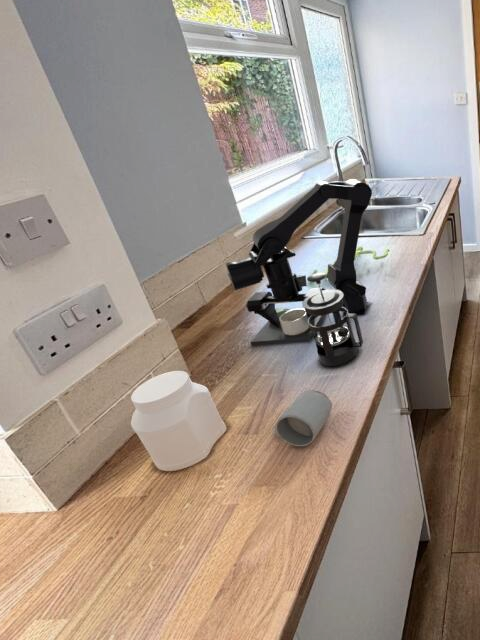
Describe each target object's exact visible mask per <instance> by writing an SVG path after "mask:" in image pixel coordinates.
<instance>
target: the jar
mask: <svg viewBox="0 0 480 640" xmlns="http://www.w3.org/2000/svg"><path fill="white" fill-rule="evenodd" d="M130 400H131V402H132V404H133V406H134V407H135V410H133V413H132V416H131V421H130V427H131V429H132V430H133V432H134V433H135V434H136V435H137V437H138V439H139V440H140V442H141V443H142V444H143V446H144V448H145V450H146V452H147V453H148V454H149V456H150V458H151V459H152V460H151V461H152V462H153V464H154V466H155V467H156V468H157V469H158V470H159V471H162V472H163V471H164V472H173V471H174V472H175V471H180V470H183V469H186V468H189V467H192V466H194V465H197V463H200V462H202V461H203V460H204V459H206V458H207V457H208V456H209V454H210V453H211V450H212V448H213V447H214V445H215V444H216V443H217V441H218V440H219V439H220V438H221V437H222V436H223V435H224V434H225V433H226V431H227V426H226V424H225V422H224V420H223V419H222V417H221V415H220V413H219V410H218V408H217V407H216V404H215V403H214V400H213V398H212V395H211V393H210V390H209V388H208V387H207V386H205V385H203V384H200V383H197V382H195V381H192V379H191V377H190V375H189V374H188V373H187V372H186V371H184V370H172V371H168V372H165V373H161V374H158V375H156V376H153V377H151V378H150V379H148V380H146V381H144V382H142V383H141V384H140V385H139V386H138V387H136V388H135V389H134V391H133V392H132V393H131V396H130Z"/></svg>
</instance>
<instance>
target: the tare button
mask: <svg viewBox="0 0 480 640" xmlns="http://www.w3.org/2000/svg"><path fill="white" fill-rule="evenodd" d="M275 309H276V312H277V315H278V317H280V316H281V315H282V314H284V313H285V309H286V308H285V307H283V306H280V307H275Z"/></svg>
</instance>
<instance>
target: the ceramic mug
mask: <svg viewBox="0 0 480 640" xmlns="http://www.w3.org/2000/svg"><path fill="white" fill-rule="evenodd" d="M332 410H333V403H332V401H331V399H330V398H329V397H328V396H327V395H326V394H325V393H323V392H321V391H319V390H316V389H314V390H313V389H310V390H306V391H304V392H302V393H300V394H299V396H297V397H296V398H295V399H294V401H293V402H292V403H291V404H290V406H289V407H288V408H286V410H285V411H284V412H283V413H282V414H281V416H279V418H278V419H277V421H276V423H275V426H274V427H273V430H272V431H273V433H274V434H275V435H276V437H278V438H280V439H281V440H282V441H284V442H285V443H287V444H288V445H291V446H296V447H307V446H310V445H311V444H312V443H313V442H314V441H315V439H316V437H318V434H319V433H320V432H321V430H322V428H323V427H324V425H325V422H327V420H328V418H329V417H330V415H331V412H332Z"/></svg>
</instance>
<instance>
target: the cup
mask: <svg viewBox="0 0 480 640" xmlns="http://www.w3.org/2000/svg"><path fill="white" fill-rule="evenodd" d="M279 321H280V324H281V327H282V330H283V332H284V333H285V334H287V335H298V334H301V333H303V332H305V331H306V330H307V329H308V328H309V324H308V316H307V314H306V311H305V308H301V307H300V308H299V307H298V308H293V309H290V311H287V312H285V313H284V314H282V315H281V316H280V317H279Z"/></svg>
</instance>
